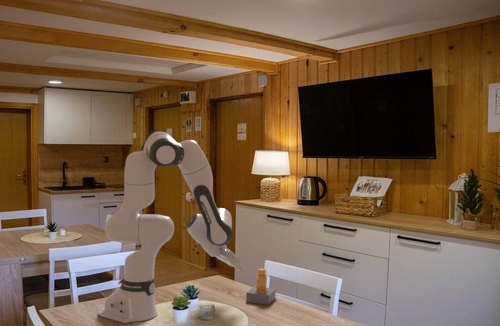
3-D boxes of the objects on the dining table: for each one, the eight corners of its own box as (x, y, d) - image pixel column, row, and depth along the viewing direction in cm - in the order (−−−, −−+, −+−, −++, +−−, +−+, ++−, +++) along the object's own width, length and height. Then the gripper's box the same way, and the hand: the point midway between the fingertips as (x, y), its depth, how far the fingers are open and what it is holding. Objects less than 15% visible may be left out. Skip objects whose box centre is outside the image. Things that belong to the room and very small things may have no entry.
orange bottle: (256, 291, 191) (256, 270, 191) (256, 288, 195) (257, 268, 195) (266, 292, 191) (266, 271, 190) (266, 289, 195) (267, 268, 195)
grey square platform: (246, 301, 190) (246, 292, 190) (253, 295, 199) (254, 285, 199) (268, 305, 187) (268, 295, 186) (275, 298, 196) (275, 288, 196)
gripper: (231, 244, 178) (252, 267, 182) (211, 236, 196) (231, 257, 201) (220, 256, 176) (242, 279, 180) (202, 247, 194) (222, 268, 199)
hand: (236, 267), depth 191 cm, fingers open, 8 cm apart
